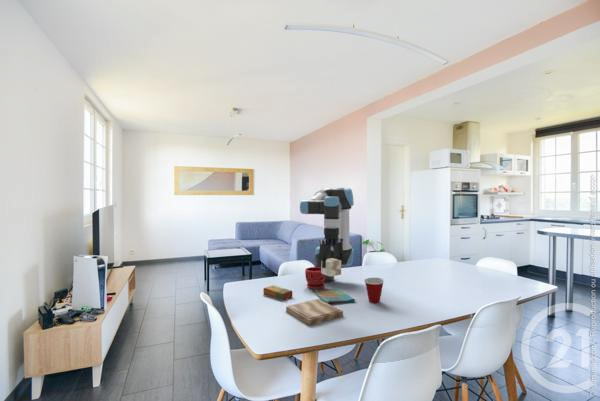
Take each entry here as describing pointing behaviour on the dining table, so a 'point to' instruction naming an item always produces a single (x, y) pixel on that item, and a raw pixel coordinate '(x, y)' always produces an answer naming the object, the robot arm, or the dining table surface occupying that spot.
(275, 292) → the carton
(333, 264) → the cube
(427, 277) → the dining table surface
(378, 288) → the plastic cup
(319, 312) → the board
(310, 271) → the plant pot
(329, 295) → the teal book
